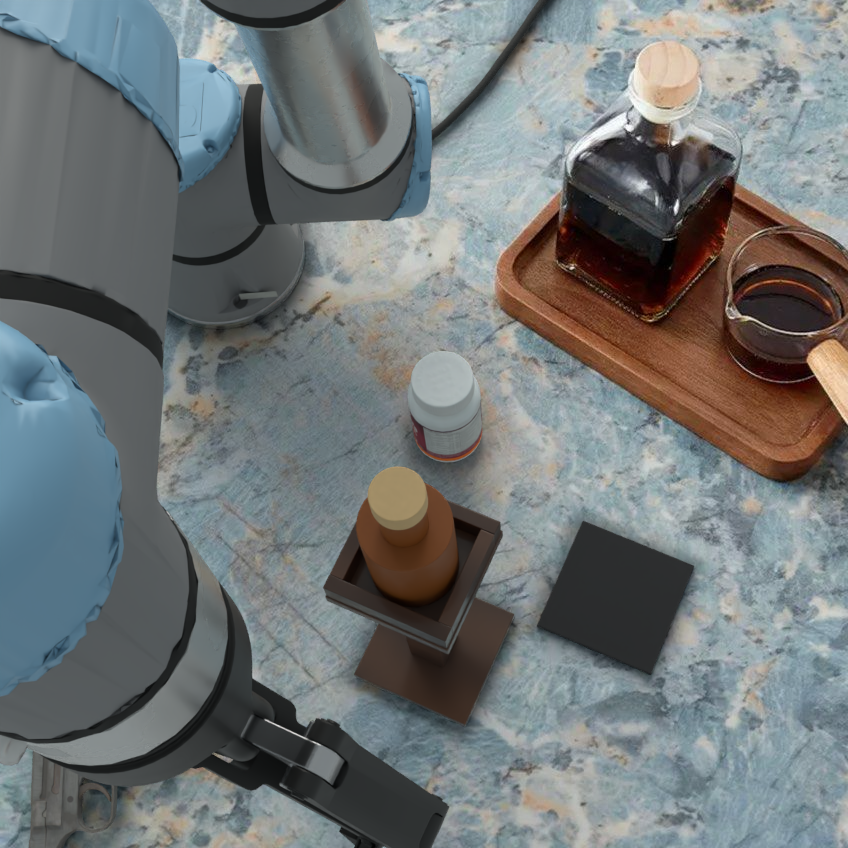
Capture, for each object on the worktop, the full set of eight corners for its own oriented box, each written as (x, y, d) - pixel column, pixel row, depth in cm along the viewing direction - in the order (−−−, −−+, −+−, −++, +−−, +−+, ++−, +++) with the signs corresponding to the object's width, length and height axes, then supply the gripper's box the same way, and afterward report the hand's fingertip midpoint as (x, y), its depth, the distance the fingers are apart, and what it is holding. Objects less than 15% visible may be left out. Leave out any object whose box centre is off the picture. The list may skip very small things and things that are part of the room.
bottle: (393, 507, 89) (372, 430, 77) (473, 541, 87) (465, 468, 75) (354, 585, 87) (327, 519, 74) (436, 621, 85) (422, 559, 73)
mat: (582, 521, 112) (582, 520, 111) (693, 566, 109) (694, 565, 109) (537, 626, 108) (537, 625, 108) (650, 675, 106) (651, 674, 106)
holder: (406, 570, 111) (376, 461, 88) (514, 616, 109) (512, 516, 86) (355, 677, 108) (310, 592, 85) (465, 727, 105) (450, 654, 82)
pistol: (183, 681, 106) (37, 684, 107) (177, 681, 104) (28, 683, 104) (177, 923, 103) (26, 925, 103) (171, 928, 100) (16, 930, 101)
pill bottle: (414, 401, 117) (404, 344, 107) (482, 400, 117) (479, 343, 106) (413, 465, 115) (403, 413, 104) (483, 464, 114) (479, 411, 104)
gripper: (-285, 590, 41) (-27, 717, 61) (426, 953, 36) (460, 964, 55) (-149, 393, 44) (57, 575, 63) (535, 703, 38) (531, 798, 58)
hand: (245, 756), depth 59 cm, fingers open, 13 cm apart
